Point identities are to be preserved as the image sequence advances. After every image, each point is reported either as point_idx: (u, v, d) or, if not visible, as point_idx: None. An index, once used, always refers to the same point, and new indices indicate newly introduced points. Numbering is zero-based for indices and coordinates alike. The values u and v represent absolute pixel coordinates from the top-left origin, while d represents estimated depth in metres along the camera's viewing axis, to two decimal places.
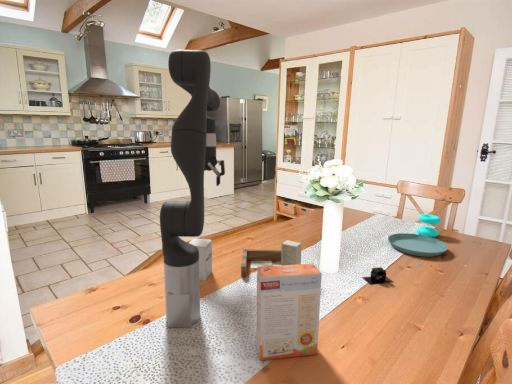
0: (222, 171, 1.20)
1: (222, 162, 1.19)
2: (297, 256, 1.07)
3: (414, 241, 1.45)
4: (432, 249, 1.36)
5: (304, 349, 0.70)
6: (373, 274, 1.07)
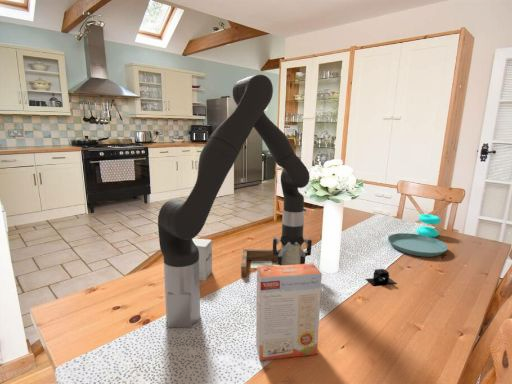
0: (309, 251, 1.08)
1: (310, 242, 1.07)
2: (298, 256, 1.07)
3: (414, 241, 1.45)
4: (432, 249, 1.36)
5: (304, 349, 0.70)
6: (376, 276, 1.06)
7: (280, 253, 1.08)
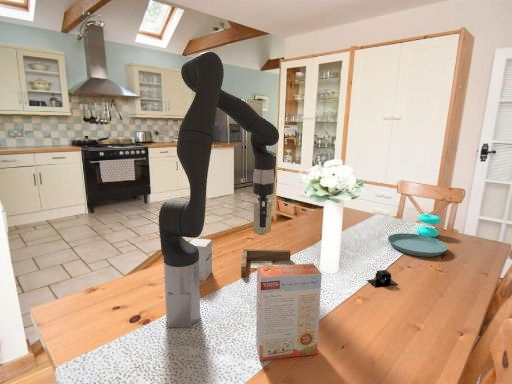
0: None
1: (260, 203, 1.06)
2: (256, 214, 1.11)
3: (414, 241, 1.45)
4: (432, 249, 1.36)
5: (304, 349, 0.70)
6: (378, 277, 1.05)
7: None
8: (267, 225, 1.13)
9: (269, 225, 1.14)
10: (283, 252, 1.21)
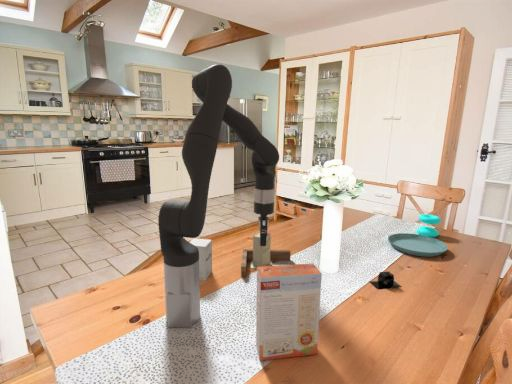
0: (260, 232, 1.08)
1: (260, 222, 1.07)
2: (255, 247, 1.14)
3: (414, 241, 1.45)
4: (432, 249, 1.36)
5: (304, 349, 0.70)
6: (380, 278, 1.04)
7: None
8: (266, 257, 1.16)
9: (268, 257, 1.17)
10: (283, 252, 1.21)
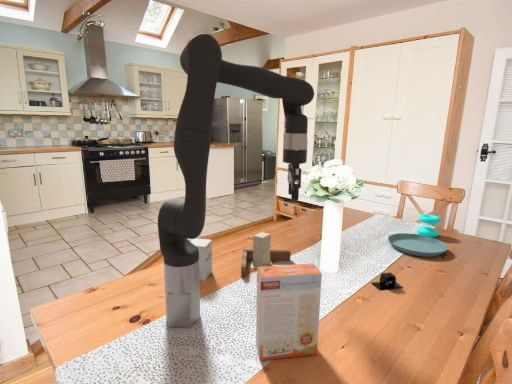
0: (292, 182, 0.92)
1: (293, 171, 0.92)
2: (255, 247, 1.14)
3: (414, 241, 1.45)
4: (432, 249, 1.36)
5: (304, 349, 0.70)
6: (382, 279, 1.03)
7: (288, 179, 1.03)
8: (266, 257, 1.16)
9: (268, 257, 1.17)
10: (283, 252, 1.21)
